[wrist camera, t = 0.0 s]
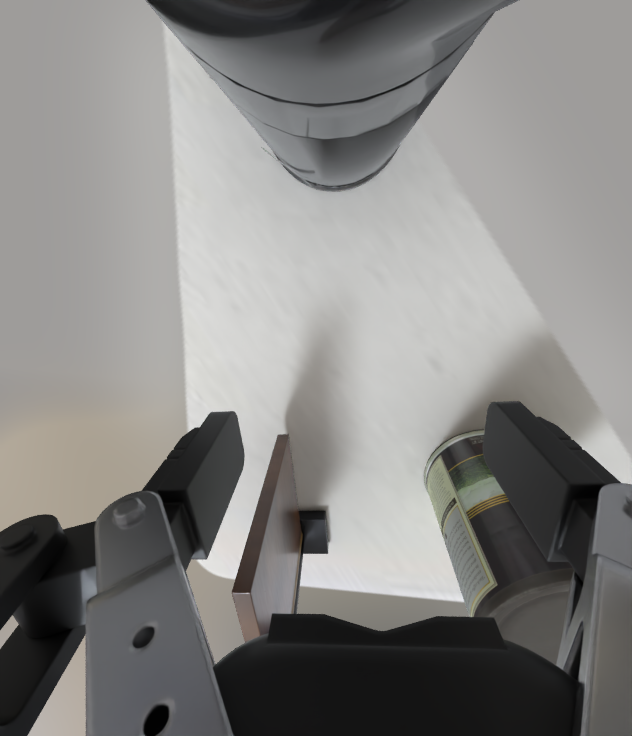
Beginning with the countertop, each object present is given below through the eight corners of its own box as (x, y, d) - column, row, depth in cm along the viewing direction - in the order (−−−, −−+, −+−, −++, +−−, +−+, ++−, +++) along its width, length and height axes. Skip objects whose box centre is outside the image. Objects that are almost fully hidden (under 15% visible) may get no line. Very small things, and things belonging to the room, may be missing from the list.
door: (276, 434, 30) (229, 592, 17) (289, 434, 29) (252, 592, 17) (292, 537, 35) (264, 721, 22) (303, 537, 34) (282, 722, 22)
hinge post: (269, 511, 35) (214, 738, 20) (325, 510, 35) (314, 743, 19) (275, 544, 37) (229, 775, 22) (328, 544, 37) (320, 781, 21)
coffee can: (475, 409, 29) (584, 553, 16) (557, 464, 31) (716, 635, 18) (400, 482, 33) (441, 648, 20) (478, 528, 35) (562, 708, 22)
